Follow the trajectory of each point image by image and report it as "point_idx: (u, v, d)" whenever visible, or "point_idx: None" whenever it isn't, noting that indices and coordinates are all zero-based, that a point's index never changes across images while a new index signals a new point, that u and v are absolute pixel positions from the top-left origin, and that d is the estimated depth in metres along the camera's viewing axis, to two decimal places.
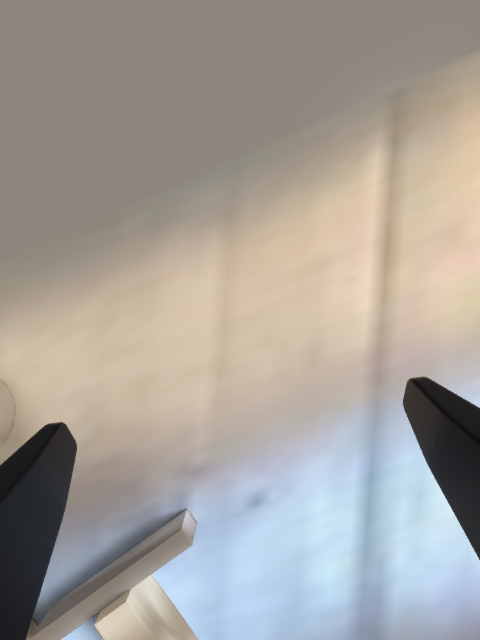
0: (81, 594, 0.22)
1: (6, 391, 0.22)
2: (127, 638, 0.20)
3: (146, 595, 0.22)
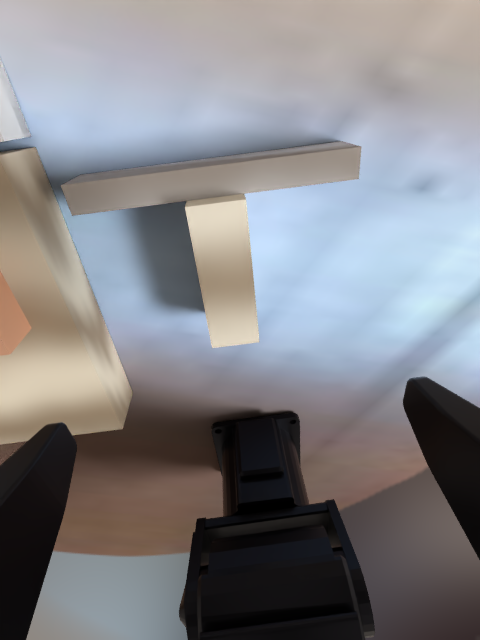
0: (154, 169, 0.14)
1: None
2: (221, 248, 0.14)
3: None
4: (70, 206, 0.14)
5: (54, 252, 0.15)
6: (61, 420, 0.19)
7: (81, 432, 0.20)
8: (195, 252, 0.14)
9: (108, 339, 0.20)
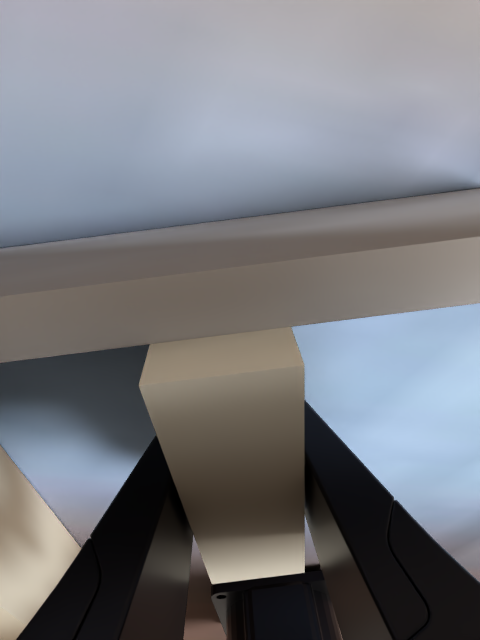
0: (72, 265, 0.06)
1: None
2: (234, 455, 0.06)
3: None
4: None
5: None
6: None
7: None
8: (170, 463, 0.06)
9: (35, 506, 0.12)
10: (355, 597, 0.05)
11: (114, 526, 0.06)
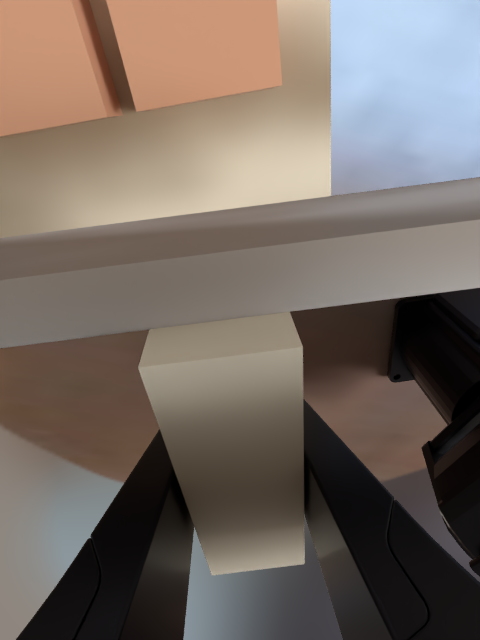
0: (73, 251, 0.06)
1: None
2: (234, 440, 0.06)
3: None
4: None
5: None
6: None
7: None
8: (170, 448, 0.06)
9: None
10: (355, 597, 0.05)
11: (114, 526, 0.06)
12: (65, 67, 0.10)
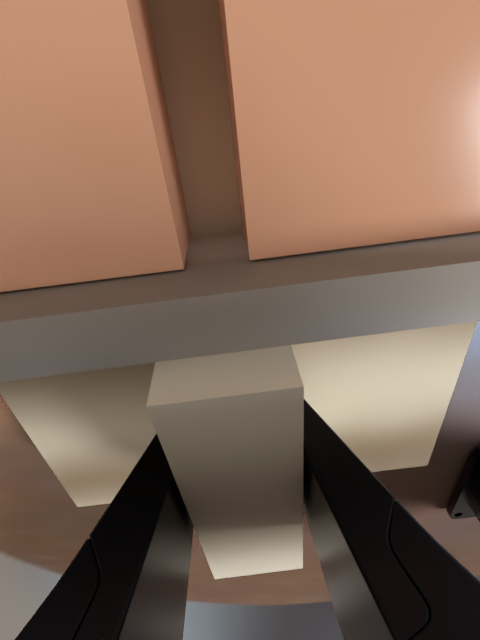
0: (79, 286, 0.06)
1: None
2: (237, 466, 0.06)
3: None
4: None
5: None
6: None
7: None
8: (176, 474, 0.06)
9: None
10: (356, 597, 0.05)
11: (113, 526, 0.06)
12: (120, 196, 0.05)
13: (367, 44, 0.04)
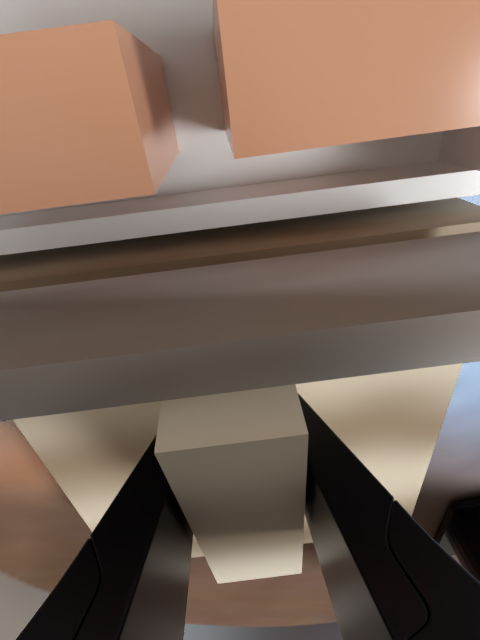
0: (83, 325, 0.06)
1: None
2: (241, 497, 0.06)
3: None
4: None
5: None
6: None
7: None
8: (182, 505, 0.06)
9: None
10: (355, 597, 0.05)
11: (114, 526, 0.06)
12: None
13: None
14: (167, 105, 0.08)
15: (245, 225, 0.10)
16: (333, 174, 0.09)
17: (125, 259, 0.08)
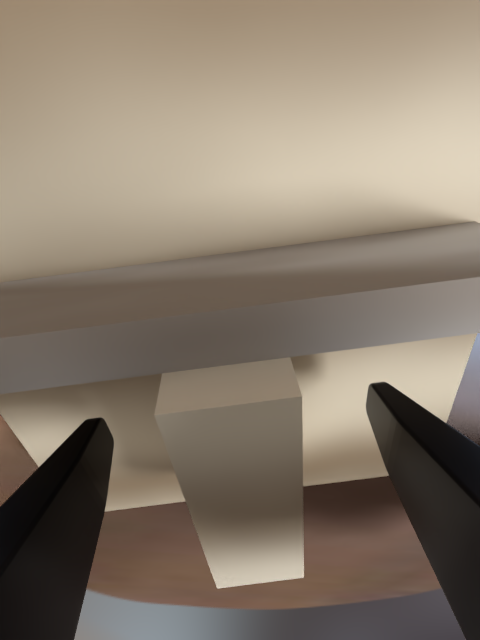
0: (92, 301, 0.06)
1: None
2: (239, 473, 0.06)
3: None
4: None
5: None
6: (351, 458, 0.12)
7: (367, 476, 0.13)
8: (181, 481, 0.06)
9: None
10: None
11: None
12: None
13: None
14: None
15: None
16: None
17: None
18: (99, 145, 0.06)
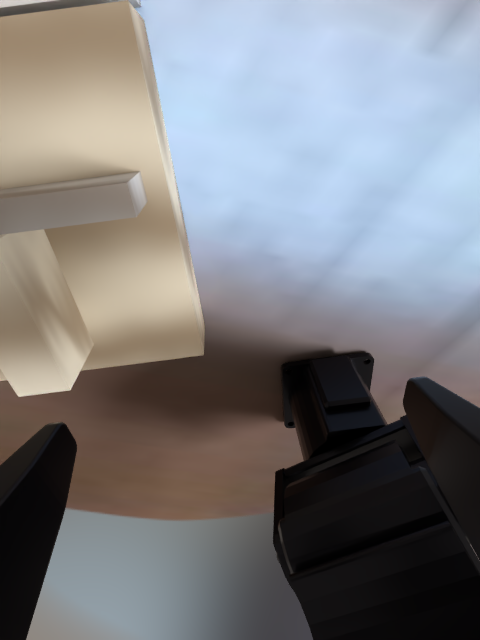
0: None
1: None
2: None
3: (32, 258, 0.14)
4: None
5: (160, 137, 0.14)
6: (142, 342, 0.18)
7: (160, 358, 0.19)
8: None
9: (190, 258, 0.19)
10: None
11: None
12: None
13: None
14: None
15: None
16: None
17: None
18: None
